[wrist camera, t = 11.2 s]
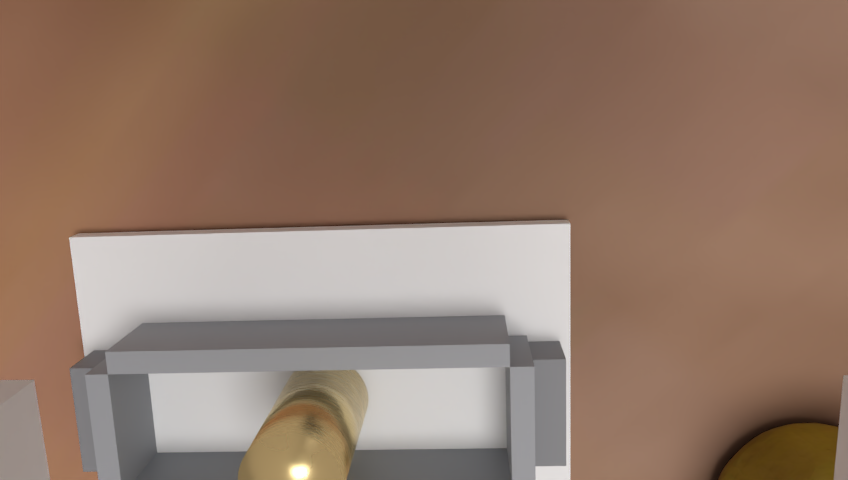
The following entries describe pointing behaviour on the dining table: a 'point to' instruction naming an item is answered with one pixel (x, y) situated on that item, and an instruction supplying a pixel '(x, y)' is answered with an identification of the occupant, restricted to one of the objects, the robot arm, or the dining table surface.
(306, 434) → the pin
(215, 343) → the white grey flat tray
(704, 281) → the dining table surface
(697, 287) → the dining table surface
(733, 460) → the mug
